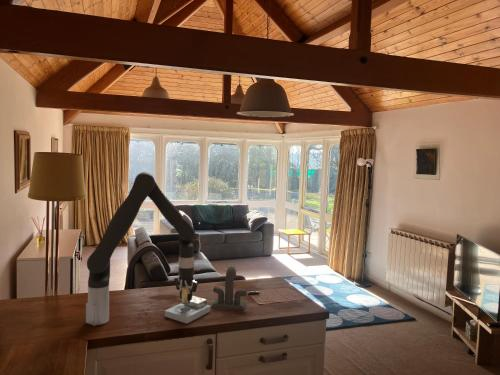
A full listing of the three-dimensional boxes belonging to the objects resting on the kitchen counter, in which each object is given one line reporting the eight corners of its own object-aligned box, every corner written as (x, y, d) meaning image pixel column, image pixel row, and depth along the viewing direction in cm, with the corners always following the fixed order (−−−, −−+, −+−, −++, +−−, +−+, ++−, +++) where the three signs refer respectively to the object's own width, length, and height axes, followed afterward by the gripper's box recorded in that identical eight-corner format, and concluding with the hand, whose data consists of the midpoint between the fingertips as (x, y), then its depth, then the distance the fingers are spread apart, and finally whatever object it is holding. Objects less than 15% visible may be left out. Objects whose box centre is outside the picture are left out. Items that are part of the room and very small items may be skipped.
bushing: (186, 305, 191) (186, 289, 191) (180, 303, 193) (180, 287, 193) (191, 302, 195) (191, 286, 194) (185, 301, 197) (185, 285, 196)
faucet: (248, 299, 219) (249, 264, 217) (245, 310, 203) (246, 272, 202) (216, 297, 221) (217, 262, 219) (210, 307, 205) (211, 270, 203)
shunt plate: (198, 308, 196) (198, 303, 195) (184, 304, 200) (184, 299, 200) (206, 304, 201) (206, 299, 201) (193, 300, 206) (193, 295, 206)
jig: (186, 323, 185) (187, 317, 185) (164, 316, 192) (164, 310, 192) (210, 311, 200) (210, 305, 200) (188, 305, 207) (189, 299, 207)
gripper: (202, 266, 192) (202, 300, 193) (180, 261, 199) (179, 294, 201) (192, 269, 186) (192, 305, 187) (170, 264, 193) (169, 298, 194)
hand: (185, 299), depth 194 cm, fingers closed on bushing, 4 cm apart
